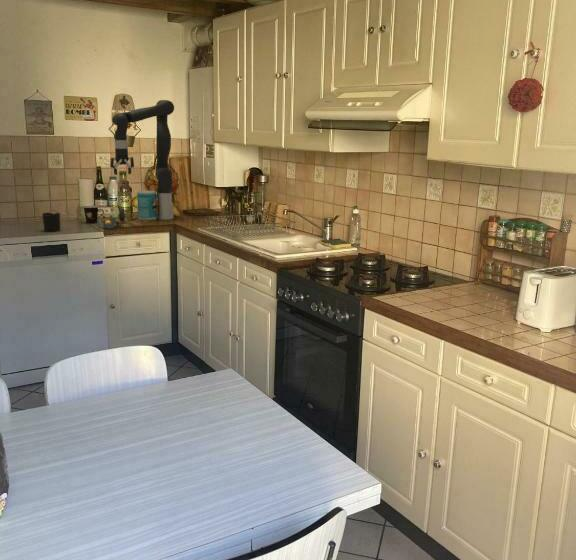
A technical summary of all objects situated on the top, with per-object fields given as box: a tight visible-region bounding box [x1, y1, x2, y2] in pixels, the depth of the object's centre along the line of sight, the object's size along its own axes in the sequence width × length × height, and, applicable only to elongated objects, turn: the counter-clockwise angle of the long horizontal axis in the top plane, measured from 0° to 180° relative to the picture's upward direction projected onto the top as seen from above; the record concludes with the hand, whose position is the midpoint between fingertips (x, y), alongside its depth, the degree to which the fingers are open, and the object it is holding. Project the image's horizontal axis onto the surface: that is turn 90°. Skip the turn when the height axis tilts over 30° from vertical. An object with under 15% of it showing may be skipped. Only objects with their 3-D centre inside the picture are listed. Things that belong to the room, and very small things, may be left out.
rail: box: [120, 220, 144, 228], centre depth 383 cm, size 14×8×2 cm, turn 125°
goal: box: [97, 220, 115, 229], centre depth 374 cm, size 7×10×3 cm, turn 35°
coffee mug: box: [83, 205, 105, 224], centre depth 387 cm, size 12×9×10 cm
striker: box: [110, 208, 130, 227], centre depth 378 cm, size 9×6×10 cm, turn 125°
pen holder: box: [42, 212, 61, 233], centre depth 359 cm, size 9×9×10 cm
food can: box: [136, 190, 158, 221], centre depth 404 cm, size 12×12×18 cm
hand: (122, 174), depth 383 cm, fingers open, 8 cm apart
